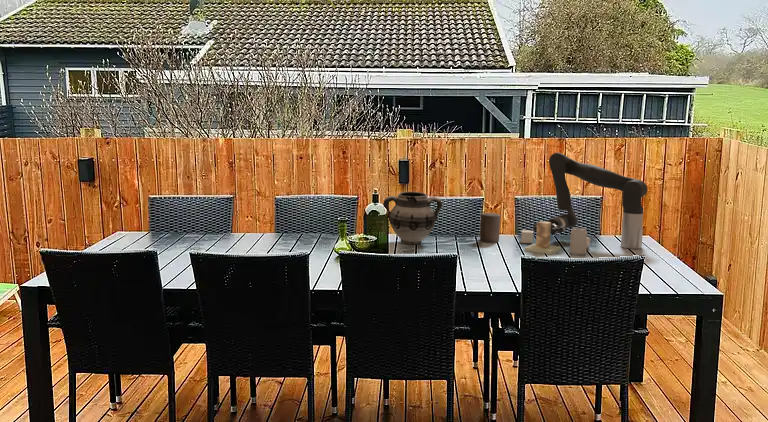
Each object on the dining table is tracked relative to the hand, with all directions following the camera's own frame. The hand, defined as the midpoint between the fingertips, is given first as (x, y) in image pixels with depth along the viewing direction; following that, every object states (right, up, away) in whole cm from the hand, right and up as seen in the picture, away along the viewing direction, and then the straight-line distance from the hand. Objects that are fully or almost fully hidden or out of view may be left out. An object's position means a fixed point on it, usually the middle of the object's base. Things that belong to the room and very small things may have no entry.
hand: (543, 229), depth 326 cm
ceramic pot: (-62, -7, +13) cm, 64 cm away
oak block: (0, -8, +2) cm, 9 cm away
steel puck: (+21, -9, +8) cm, 24 cm away
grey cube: (-3, -7, +22) cm, 23 cm away
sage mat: (0, -10, +2) cm, 10 cm away
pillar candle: (-22, -6, +23) cm, 32 cm away
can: (+15, -11, -4) cm, 19 cm away
